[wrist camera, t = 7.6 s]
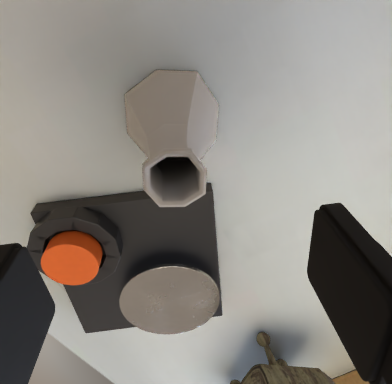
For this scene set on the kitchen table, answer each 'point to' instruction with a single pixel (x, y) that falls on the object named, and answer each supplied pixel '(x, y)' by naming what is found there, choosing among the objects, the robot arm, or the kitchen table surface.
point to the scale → (127, 245)
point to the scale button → (72, 258)
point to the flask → (173, 134)
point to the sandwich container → (350, 379)
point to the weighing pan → (169, 298)
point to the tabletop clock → (281, 370)
